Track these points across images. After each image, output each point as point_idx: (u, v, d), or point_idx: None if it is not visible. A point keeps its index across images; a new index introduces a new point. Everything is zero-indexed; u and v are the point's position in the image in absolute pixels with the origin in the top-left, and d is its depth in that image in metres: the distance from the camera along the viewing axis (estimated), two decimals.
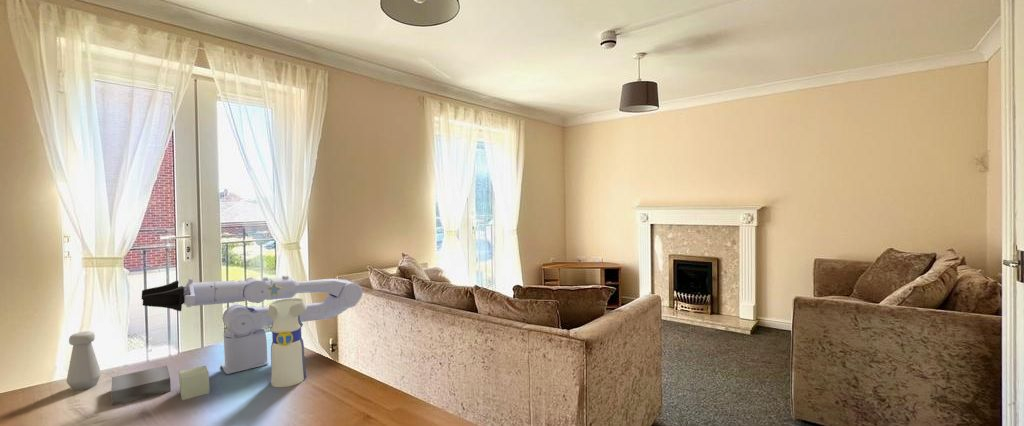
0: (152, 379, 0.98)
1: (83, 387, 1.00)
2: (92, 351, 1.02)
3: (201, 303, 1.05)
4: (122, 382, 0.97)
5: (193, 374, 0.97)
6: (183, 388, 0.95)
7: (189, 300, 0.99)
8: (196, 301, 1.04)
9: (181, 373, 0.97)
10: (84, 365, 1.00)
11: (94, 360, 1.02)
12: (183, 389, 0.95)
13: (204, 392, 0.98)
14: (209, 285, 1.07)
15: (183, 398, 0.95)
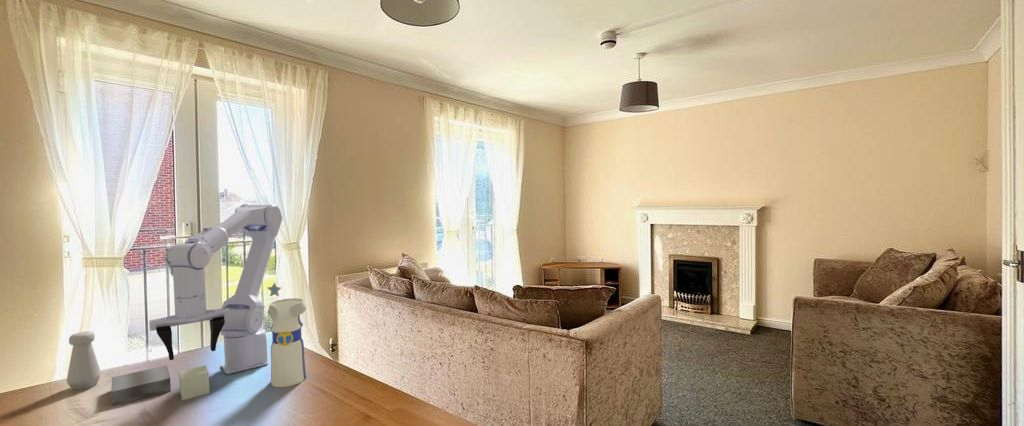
0: (152, 379, 0.98)
1: (83, 387, 1.00)
2: (92, 351, 1.02)
3: None
4: (122, 382, 0.97)
5: (193, 374, 0.97)
6: (183, 388, 0.95)
7: (228, 312, 1.02)
8: None
9: (181, 373, 0.97)
10: (84, 365, 1.00)
11: (94, 360, 1.02)
12: (183, 389, 0.95)
13: (204, 392, 0.98)
14: (200, 300, 0.97)
15: (183, 398, 0.95)
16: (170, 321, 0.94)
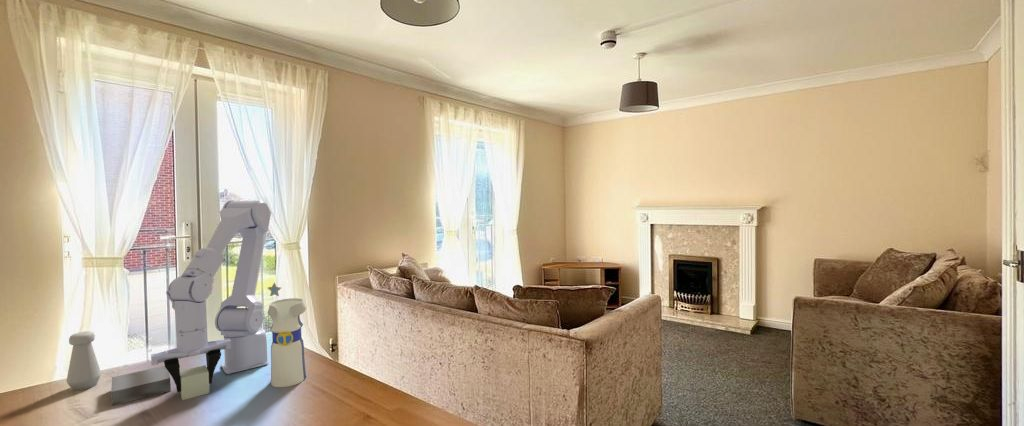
0: (152, 379, 0.98)
1: (83, 387, 1.00)
2: (92, 351, 1.02)
3: None
4: (122, 382, 0.97)
5: (193, 374, 0.97)
6: (183, 388, 0.95)
7: None
8: None
9: (181, 373, 0.97)
10: (84, 365, 1.00)
11: (94, 360, 1.02)
12: (183, 389, 0.95)
13: (204, 392, 0.98)
14: (202, 333, 0.97)
15: (183, 398, 0.95)
16: (172, 355, 0.94)
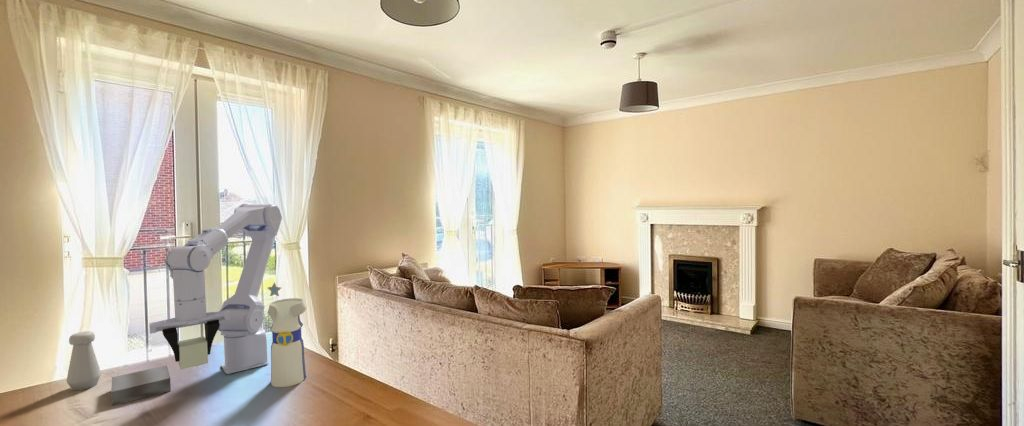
0: (152, 379, 0.98)
1: (83, 387, 1.00)
2: (92, 351, 1.02)
3: None
4: (122, 382, 0.97)
5: (192, 343, 0.96)
6: (181, 357, 0.95)
7: (228, 315, 1.03)
8: None
9: (179, 343, 0.97)
10: (84, 365, 1.00)
11: (94, 360, 1.02)
12: (181, 358, 0.95)
13: (203, 362, 0.97)
14: (200, 303, 0.97)
15: (181, 367, 0.95)
16: (170, 324, 0.94)
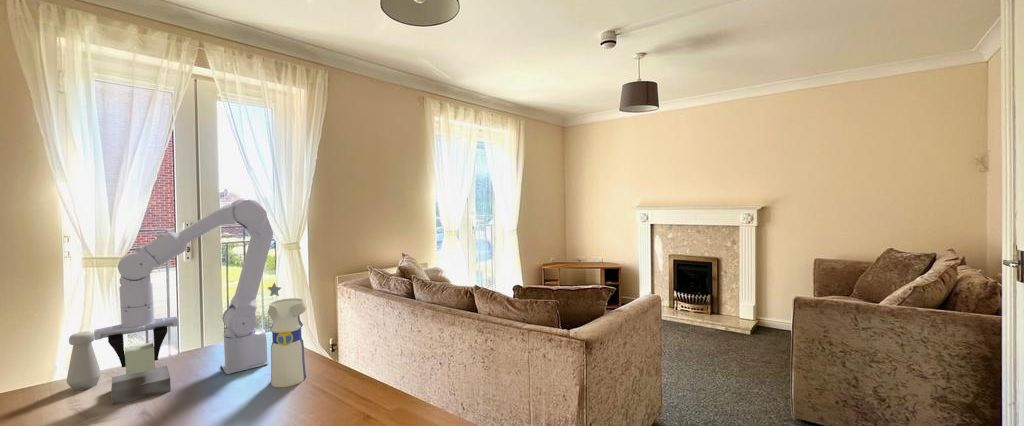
0: (152, 379, 0.98)
1: (83, 387, 1.00)
2: (92, 351, 1.02)
3: None
4: (122, 382, 0.97)
5: (138, 349, 0.98)
6: (127, 363, 0.96)
7: (177, 321, 1.04)
8: None
9: (126, 349, 0.98)
10: (84, 365, 1.00)
11: (94, 360, 1.02)
12: (127, 364, 0.96)
13: (149, 368, 0.99)
14: (147, 309, 0.98)
15: (127, 373, 0.96)
16: (115, 330, 0.95)
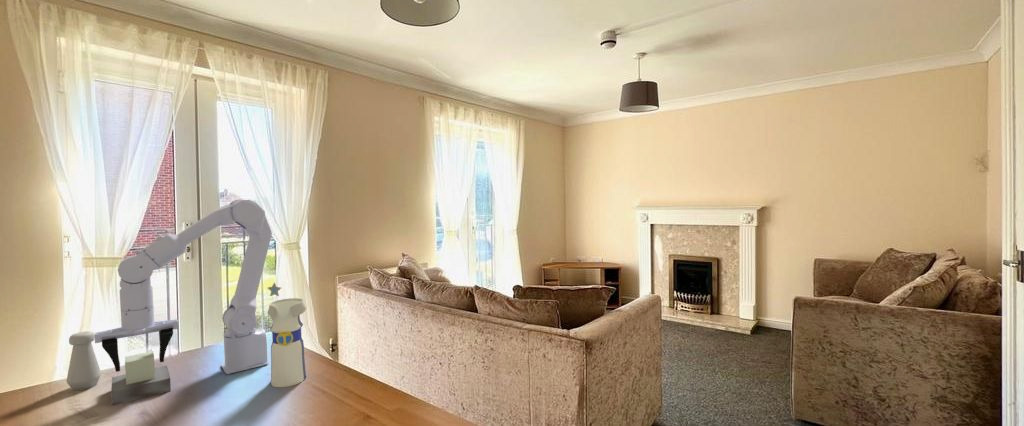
0: (152, 379, 0.98)
1: (83, 387, 1.00)
2: (92, 351, 1.02)
3: None
4: (122, 382, 0.97)
5: (138, 359, 0.98)
6: (127, 372, 0.96)
7: None
8: None
9: (127, 358, 0.99)
10: (84, 365, 1.00)
11: (94, 360, 1.02)
12: (127, 373, 0.96)
13: (149, 377, 0.99)
14: (147, 312, 0.98)
15: (127, 382, 0.96)
16: (116, 333, 0.95)
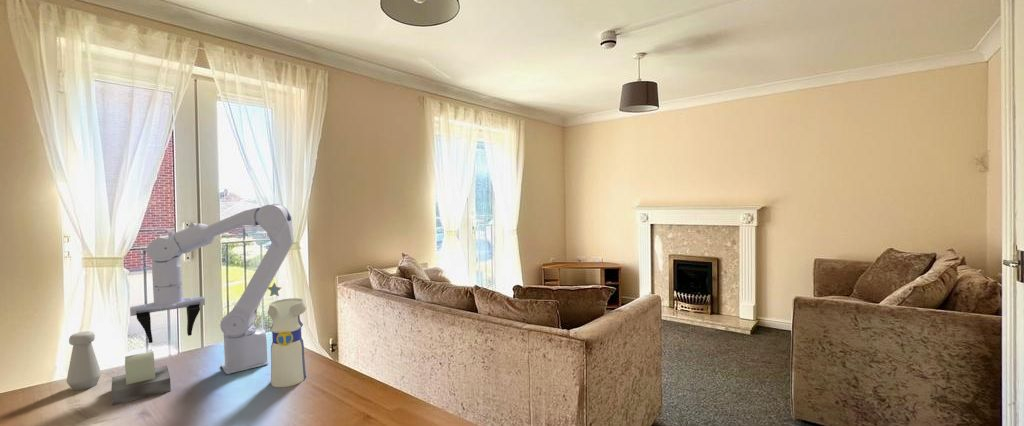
0: (152, 379, 0.98)
1: (83, 387, 1.00)
2: (92, 351, 1.02)
3: None
4: (122, 382, 0.97)
5: (138, 359, 0.98)
6: (127, 372, 0.96)
7: None
8: None
9: (127, 358, 0.99)
10: (84, 365, 1.00)
11: (94, 360, 1.02)
12: (127, 373, 0.96)
13: (149, 377, 0.99)
14: (177, 289, 1.07)
15: (127, 382, 0.96)
16: (149, 307, 1.03)
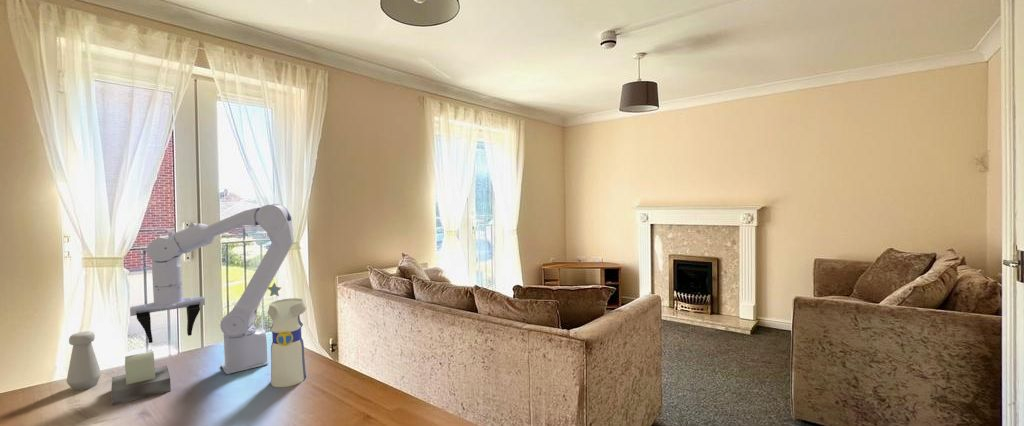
0: (152, 379, 0.98)
1: (83, 387, 1.00)
2: (92, 351, 1.02)
3: None
4: (122, 382, 0.97)
5: (138, 359, 0.98)
6: (127, 372, 0.96)
7: None
8: None
9: (127, 358, 0.99)
10: (84, 365, 1.00)
11: (94, 360, 1.02)
12: (127, 373, 0.96)
13: (149, 377, 0.99)
14: (177, 289, 1.07)
15: (127, 382, 0.96)
16: (149, 307, 1.03)
